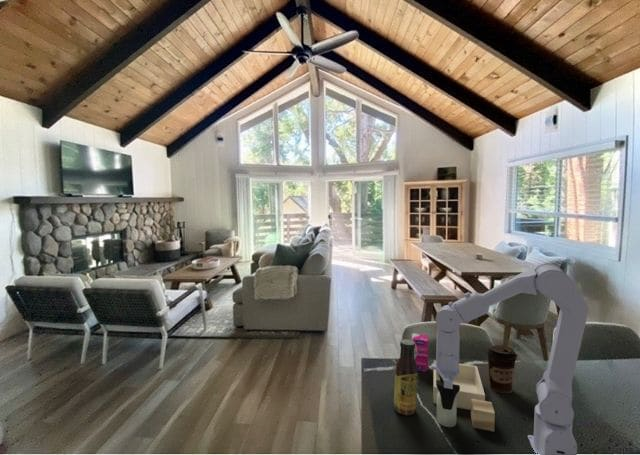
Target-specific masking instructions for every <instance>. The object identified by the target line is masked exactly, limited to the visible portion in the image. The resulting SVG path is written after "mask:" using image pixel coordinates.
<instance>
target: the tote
mask: <svg viewBox="0 0 640 455" xmlns="http://www.w3.org/2000/svg"><path fill="white" fill-rule="evenodd" d="M433 363H434V364H436V359H433ZM459 369H460V373H459V374H458V376H457V377H456V378H455V380H454V381H453V384H455V385H460V390H459V392H458V393H457V395H456V397H457V408H458V409H464V410H468V411H471V399H476V400H482V401H486V394H485V391H484V386H483V382H482V380H481V375H480V373H479V369H478V365H472V364H466V363H459ZM432 370H433V372H432V375H433V376H432V377H433V379H432V380H433V385H432V386H433V387H432V389H433V404H435V405H437V393H438V392H439V390H438V388H437V386H436V380H440V378H439V374H438V372H437V371H436V370H435V369H432Z"/></svg>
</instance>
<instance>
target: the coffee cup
mask: <svg viewBox="0 0 640 455" xmlns="http://www.w3.org/2000/svg"><path fill="white" fill-rule="evenodd" d="M486 354H487V362H488V363H487V364H488V377H489V378H488V379H489V380H488V381H489V388H490V389H491V390H492V391H493V392H497V393H501V394H511V393H512V392H513V379H514V376H515V364H516V360H517V357H518V355H517V354H516V352H515V349H514V348H512V347H510V346H507V345H501V344H495V345H492V346H490V347H489V349H487V352H486Z"/></svg>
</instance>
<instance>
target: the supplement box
mask: <svg viewBox="0 0 640 455" xmlns="http://www.w3.org/2000/svg"><path fill="white" fill-rule="evenodd" d="M411 340H412V341H414V342H415V349H414V359H415V361H416V365H417V371H418V372H419V371H420V372H425V373H428V372H429V342H430V341H429V335H428V334H422V333H414V332H413V333H412V334H411Z"/></svg>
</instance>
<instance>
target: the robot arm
mask: <svg viewBox="0 0 640 455" xmlns="http://www.w3.org/2000/svg"><path fill="white" fill-rule="evenodd" d="M537 291H539V293H540V294H541V295H543V296H545V297H546V298H548V299H550V300H551V301H552V302H553V303H555V305H557V307H558V308H559V312H558V318H557V321H556V326H555V331H554V335H553V339H552V345H551V348H550V354H549V358H548V363H547V366H546V370H545V371H544V372H543V375H542V378H541V379H540V380H539V381H538V382H537V383H536V385H535V392H536V395H537V399H538V403H537V404H536V405H535V406H534V413H533V414H534V419H533V435H531V434H528V435H527V438H528V441H529V443H530V446H531V448H533V449H532V450H534V451H533V453H534V452H535V453H536V454H537V453H538V454H540V455H578V444H577V441H576V439H575V436H574V434H573V420H574V418H575V412H574V409H573V407H572V401H573V386H572V385H573V380H574V375H575V371H576V368H577V367H576V366H577V362H578V358H579V353H580V349H581V345H582V341H583V336H584V331H585V328H586V327H585V326H586V324H587V319H588V315H589V306H588V304H587V301H586V300H585V298H584V296H583V294H582V292H581V290H580V289H579V287H578V285H577V283H576V282H575V281H574V280H573V279H572V278H571V277H570V275H568V273H566V272H565V271H564V270H563V269H562V268H560V267H559V266H558V265H556V264H553V263H542V264H540V265H538V266H537V267H535V268H534V267H532V268H529V269H527V270H525V271H523V272H521V273H519V274H516V275H514V276H513V277H511V278H509V279H508V280H506V281H504V282H502V283H500V284H499V285H495V287H493V288H491V289H489V290H487V291H486V292H484V293H480V292H476V291H474V292H472V293H470V291H467V292H466V293H465V294H464V297H462V298H459V299H458V300H456V301H450V302H448V304H446V305H443V306H441V307H440V308H439V310H438V312H437V313H436V316H435V323H436V325H437V328H436V329H437V331H436V348H435V349H436V352H435V356H436V357H435V360H436V364H434V362H433V363H431V369H432V370H433V369H435V370H436V371H437V372H438V374H439V378H440V380H436V386H437V388H438V390H439V392H440V396H441V402H442V407H443V409H448V410H451V409H452V407H453V403H454V399H455V396H456V395H457V393H458V392H459V390H460V385H455V384H453V381H454V380H455V378H456V377H457V376H458V374H459V373H460V369H459V364H460V343H461V342H460V340H461V339H460V338H461V336H460V326H461V324H467V323H469V322H471V321H473V320H475V319H477V318H479V317H482V316H484V315H486V314H488V313H489V310H490V308H491V306H493V305H495V304H497V303H500V302H503V301H505V300H508V299H510V298H512V297H515V296H517V295H519V294H528V295H534V296H537V295H538V294H537ZM535 453H534V454H535Z"/></svg>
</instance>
